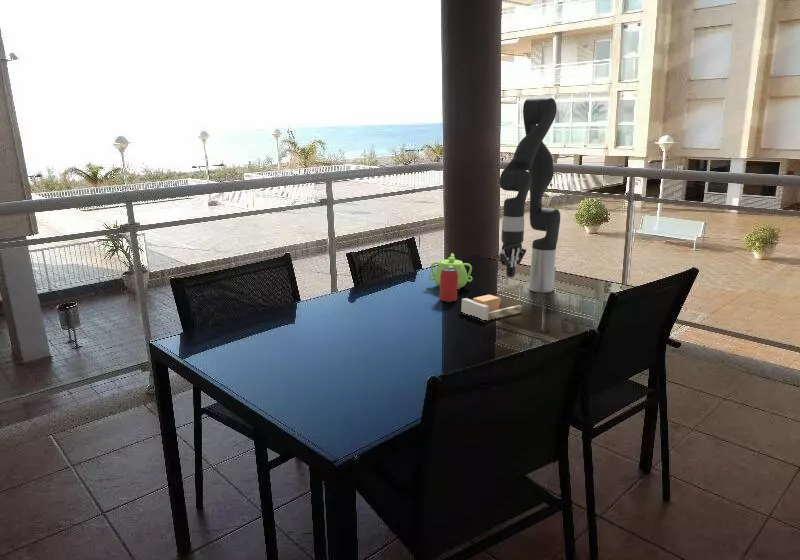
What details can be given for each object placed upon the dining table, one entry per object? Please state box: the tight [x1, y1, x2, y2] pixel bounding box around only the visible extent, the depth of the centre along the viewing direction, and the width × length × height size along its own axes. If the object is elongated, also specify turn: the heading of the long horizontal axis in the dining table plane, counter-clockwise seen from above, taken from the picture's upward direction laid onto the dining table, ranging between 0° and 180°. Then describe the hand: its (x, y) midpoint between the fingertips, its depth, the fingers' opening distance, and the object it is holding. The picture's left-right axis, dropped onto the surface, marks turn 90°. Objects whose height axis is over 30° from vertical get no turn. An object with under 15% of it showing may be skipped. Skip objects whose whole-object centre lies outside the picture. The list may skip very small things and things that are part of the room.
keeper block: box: [472, 294, 501, 312], centre depth 202 cm, size 8×5×6 cm, turn 128°
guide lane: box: [487, 298, 523, 321], centre depth 204 cm, size 16×11×2 cm
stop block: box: [460, 297, 489, 321], centre depth 199 cm, size 2×11×5 cm, turn 35°
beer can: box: [439, 268, 458, 303], centre depth 217 cm, size 7×7×12 cm
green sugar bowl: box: [429, 252, 473, 289], centre depth 235 cm, size 16×14×13 cm
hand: (510, 276), depth 206 cm, fingers closed
